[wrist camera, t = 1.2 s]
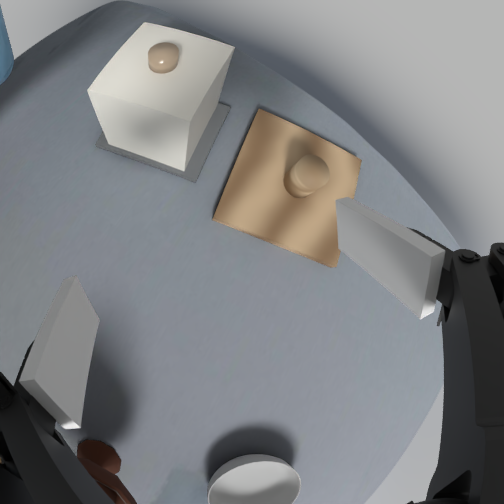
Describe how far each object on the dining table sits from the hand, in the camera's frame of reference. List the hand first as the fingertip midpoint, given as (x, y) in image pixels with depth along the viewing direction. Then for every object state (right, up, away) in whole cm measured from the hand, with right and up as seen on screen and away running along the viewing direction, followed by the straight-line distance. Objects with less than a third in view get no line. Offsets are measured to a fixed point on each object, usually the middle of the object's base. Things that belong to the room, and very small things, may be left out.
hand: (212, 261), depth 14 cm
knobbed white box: (-8, +14, +15) cm, 22 cm away
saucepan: (+1, -31, +14) cm, 33 cm away
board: (+6, +8, +19) cm, 21 cm away
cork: (+7, +8, +17) cm, 20 cm away
